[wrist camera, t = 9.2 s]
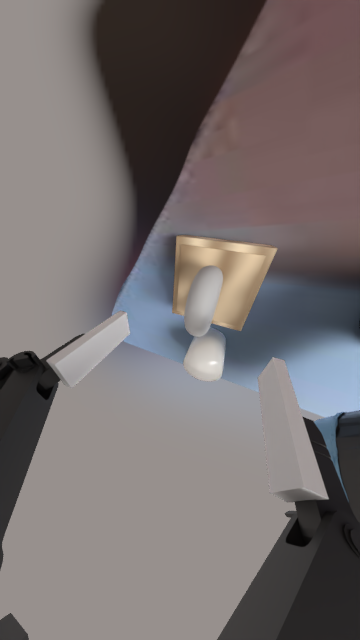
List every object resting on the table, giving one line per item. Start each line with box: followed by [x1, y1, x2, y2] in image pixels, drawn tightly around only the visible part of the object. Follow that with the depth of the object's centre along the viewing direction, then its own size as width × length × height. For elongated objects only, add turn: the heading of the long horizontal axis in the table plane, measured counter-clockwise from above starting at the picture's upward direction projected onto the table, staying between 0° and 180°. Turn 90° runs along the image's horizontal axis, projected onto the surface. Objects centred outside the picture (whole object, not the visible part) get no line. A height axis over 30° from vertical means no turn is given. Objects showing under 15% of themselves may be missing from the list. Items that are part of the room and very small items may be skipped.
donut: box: [184, 265, 223, 337], centre depth 19 cm, size 10×4×10 cm, turn 175°
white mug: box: [183, 328, 226, 382], centre depth 32 cm, size 8×11×9 cm
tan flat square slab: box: [172, 235, 277, 331], centre depth 25 cm, size 14×14×4 cm
